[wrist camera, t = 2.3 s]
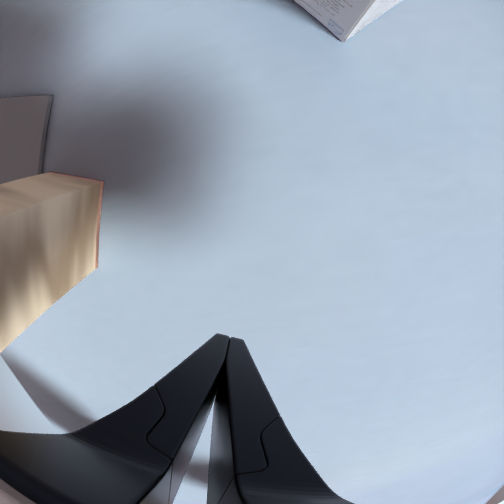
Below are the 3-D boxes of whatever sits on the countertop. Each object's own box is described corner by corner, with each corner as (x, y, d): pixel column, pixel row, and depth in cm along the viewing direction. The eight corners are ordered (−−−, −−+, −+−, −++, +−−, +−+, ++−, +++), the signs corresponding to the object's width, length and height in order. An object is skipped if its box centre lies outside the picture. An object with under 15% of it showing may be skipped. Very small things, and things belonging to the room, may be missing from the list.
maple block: (97, 267, 16) (-5, 358, 7) (49, 250, 16) (-53, 319, 7) (103, 181, 14) (-34, 231, 5) (51, 171, 14) (-75, 210, 5)
